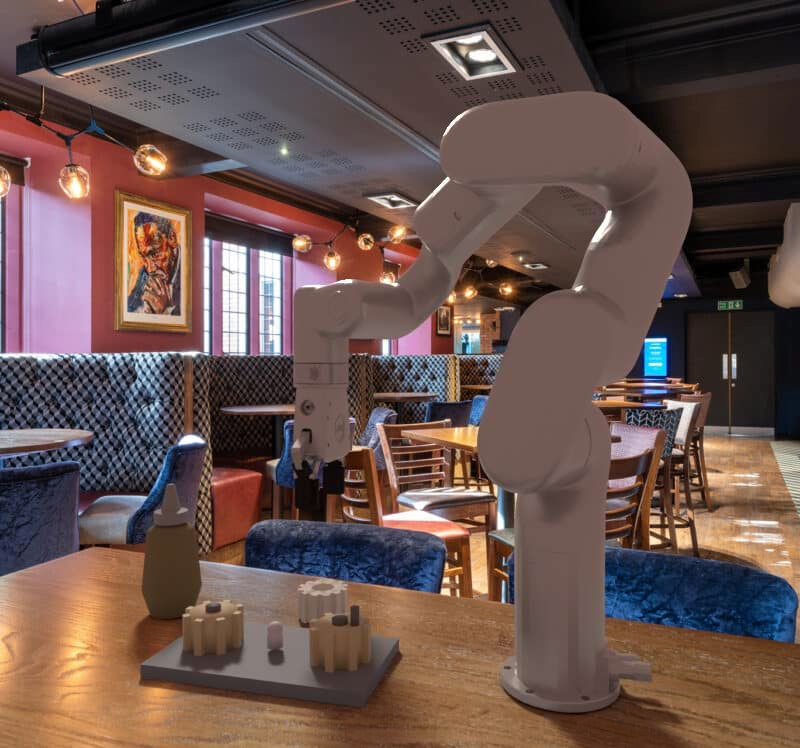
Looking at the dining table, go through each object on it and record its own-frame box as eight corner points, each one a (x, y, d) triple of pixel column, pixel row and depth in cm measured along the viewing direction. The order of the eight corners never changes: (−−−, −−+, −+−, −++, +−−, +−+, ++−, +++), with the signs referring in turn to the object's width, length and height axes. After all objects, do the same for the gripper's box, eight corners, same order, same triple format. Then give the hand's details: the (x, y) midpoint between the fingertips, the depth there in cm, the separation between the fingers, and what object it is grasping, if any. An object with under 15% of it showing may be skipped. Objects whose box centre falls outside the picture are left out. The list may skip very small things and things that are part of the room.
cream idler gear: (354, 609, 95) (354, 581, 95) (337, 627, 89) (337, 597, 88) (309, 605, 97) (309, 577, 97) (290, 622, 90) (289, 593, 90)
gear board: (399, 650, 82) (398, 588, 81) (362, 708, 68) (362, 634, 68) (207, 629, 88) (207, 572, 88) (140, 677, 75) (139, 610, 75)
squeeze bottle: (183, 625, 90) (182, 491, 89) (129, 621, 91) (127, 489, 91) (212, 604, 97) (211, 480, 97) (161, 600, 99) (160, 478, 99)
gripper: (323, 379, 83) (323, 517, 83) (366, 375, 99) (366, 490, 100) (267, 378, 85) (267, 513, 85) (319, 374, 101) (319, 487, 102)
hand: (321, 501), depth 93 cm, fingers open, 9 cm apart
